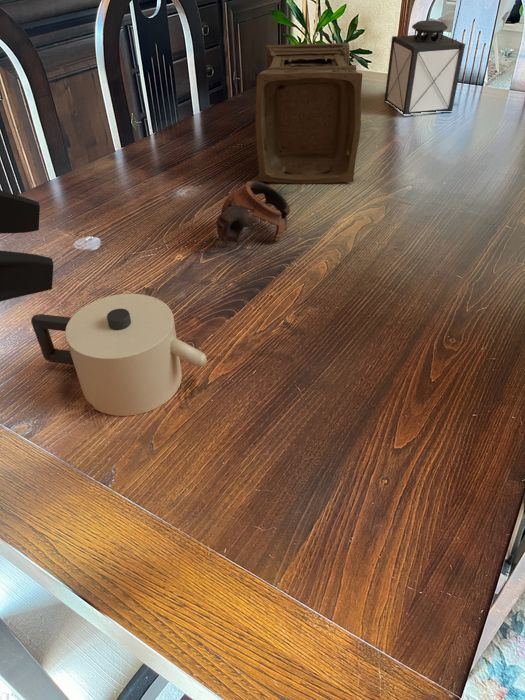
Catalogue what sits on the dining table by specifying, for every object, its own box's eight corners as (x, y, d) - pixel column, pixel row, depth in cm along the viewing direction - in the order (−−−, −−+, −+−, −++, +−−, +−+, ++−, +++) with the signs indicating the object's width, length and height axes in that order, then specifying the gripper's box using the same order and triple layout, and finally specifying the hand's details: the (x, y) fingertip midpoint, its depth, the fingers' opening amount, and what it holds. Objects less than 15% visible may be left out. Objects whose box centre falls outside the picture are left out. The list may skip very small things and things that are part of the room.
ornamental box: (269, 129, 121) (256, 33, 110) (351, 118, 118) (346, 19, 107) (260, 193, 94) (241, 76, 82) (366, 181, 91) (362, 58, 80)
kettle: (222, 358, 57) (216, 293, 52) (195, 427, 50) (185, 359, 44) (71, 339, 59) (51, 276, 54) (25, 402, 52) (-3, 336, 47)
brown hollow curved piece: (231, 216, 85) (258, 171, 80) (277, 256, 84) (307, 212, 79) (187, 231, 75) (214, 180, 70) (238, 276, 74) (269, 227, 69)
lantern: (452, 113, 119) (484, -47, 101) (404, 117, 117) (427, -44, 100) (428, 98, 128) (454, -51, 110) (383, 102, 126) (402, -50, 108)
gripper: (-250, 237, 25) (63, 249, 32) (-198, 116, 35) (35, 144, 41) (-214, 353, 29) (56, 343, 36) (-176, 217, 39) (32, 228, 45)
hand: (45, 243), depth 39 cm, fingers open, 7 cm apart
